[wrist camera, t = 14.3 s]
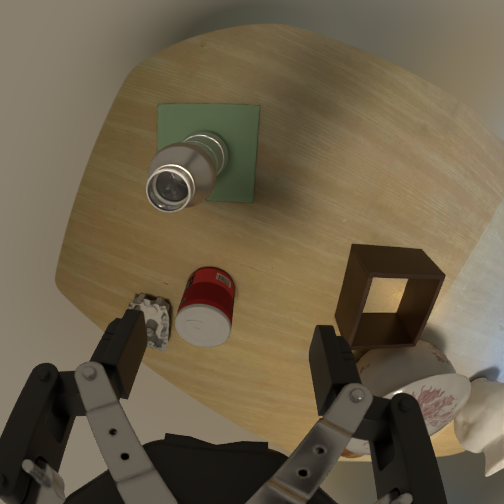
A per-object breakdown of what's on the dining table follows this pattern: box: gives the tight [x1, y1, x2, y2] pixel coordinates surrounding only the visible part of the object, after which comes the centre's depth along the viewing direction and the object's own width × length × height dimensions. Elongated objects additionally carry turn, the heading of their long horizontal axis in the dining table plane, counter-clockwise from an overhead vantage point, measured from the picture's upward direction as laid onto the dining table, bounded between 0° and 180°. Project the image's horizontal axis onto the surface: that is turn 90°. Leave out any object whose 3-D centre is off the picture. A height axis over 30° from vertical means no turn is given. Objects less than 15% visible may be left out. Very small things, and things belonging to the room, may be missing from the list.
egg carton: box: [128, 293, 170, 352], centre depth 54 cm, size 11×8×4 cm
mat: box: [157, 103, 260, 203], centre depth 42 cm, size 14×14×1 cm
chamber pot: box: [346, 340, 471, 455], centre depth 52 cm, size 28×28×21 cm
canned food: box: [175, 268, 235, 347], centre depth 47 cm, size 8×8×11 cm
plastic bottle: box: [146, 131, 228, 213], centre depth 32 cm, size 6×7×20 cm
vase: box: [454, 378, 504, 476], centre depth 56 cm, size 19×21×30 cm
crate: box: [335, 244, 446, 350], centre depth 48 cm, size 15×14×9 cm
